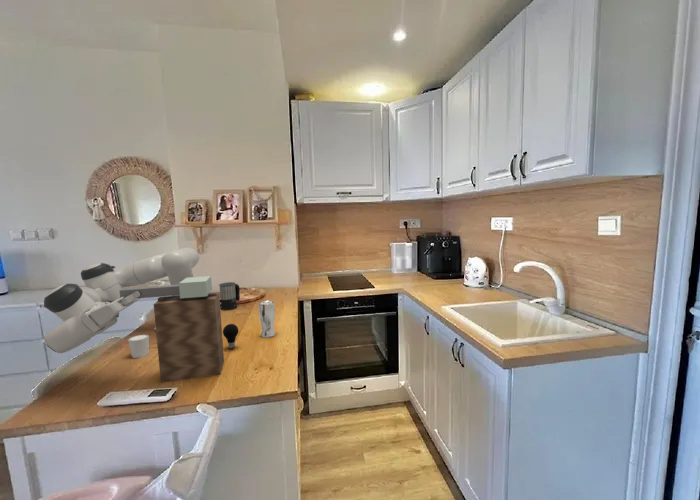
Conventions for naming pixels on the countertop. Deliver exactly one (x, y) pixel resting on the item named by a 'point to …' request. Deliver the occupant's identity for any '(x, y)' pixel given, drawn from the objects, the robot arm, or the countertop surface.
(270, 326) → the beer glass
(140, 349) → the white short cylinder
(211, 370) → the walnut stand
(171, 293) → the grey mallet
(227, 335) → the light bulb
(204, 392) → the countertop surface
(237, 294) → the milk frother
